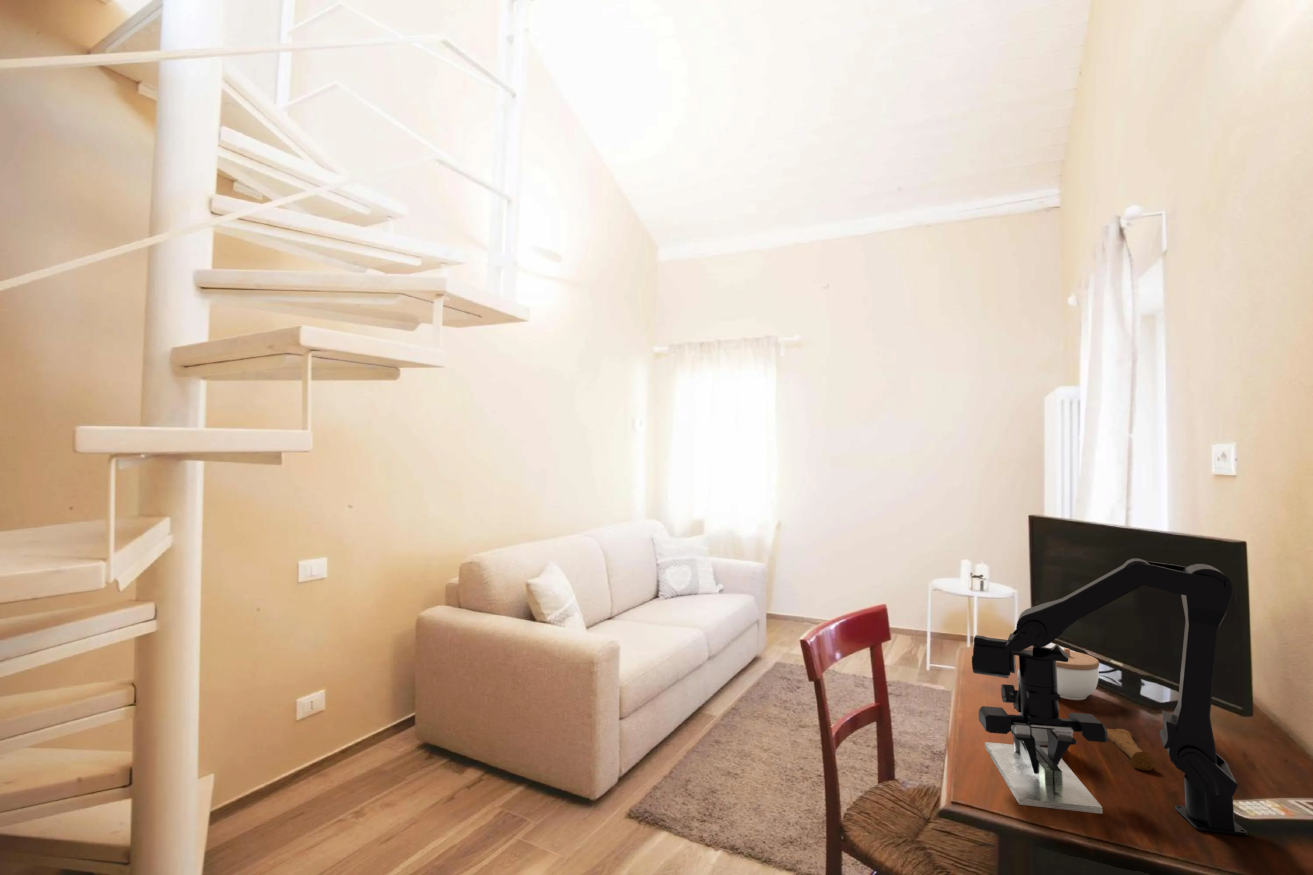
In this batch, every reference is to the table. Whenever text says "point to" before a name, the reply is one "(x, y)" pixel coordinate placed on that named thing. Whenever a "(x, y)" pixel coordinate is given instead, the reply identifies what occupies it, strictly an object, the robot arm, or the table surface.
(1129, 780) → the table surface
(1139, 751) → the primitive tool
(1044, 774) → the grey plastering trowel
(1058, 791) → the green glass bar
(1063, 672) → the lidded bowl
